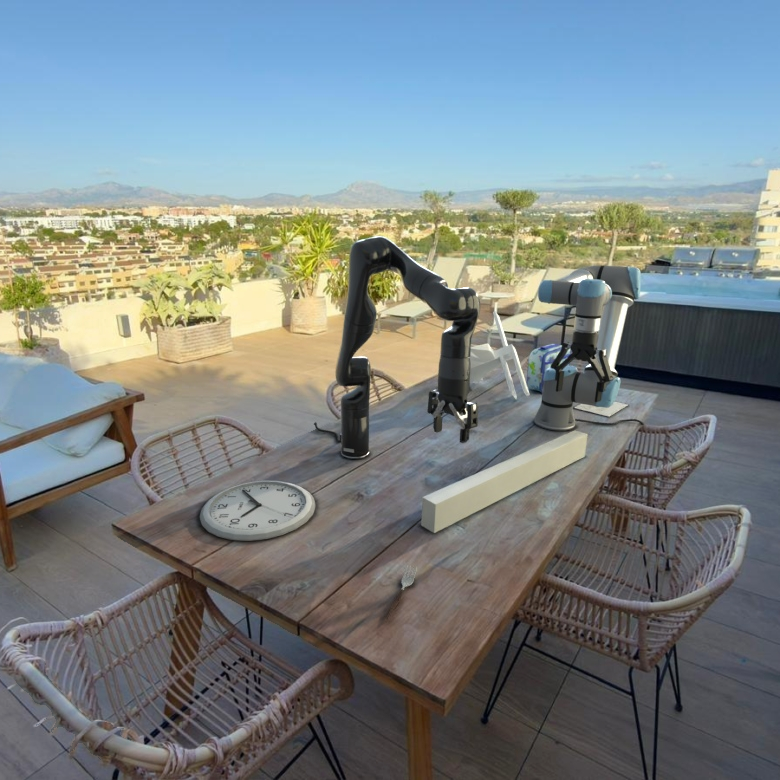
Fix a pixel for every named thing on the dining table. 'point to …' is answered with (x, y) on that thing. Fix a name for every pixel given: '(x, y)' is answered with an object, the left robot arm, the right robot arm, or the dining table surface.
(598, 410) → the invitation card
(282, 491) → the wall clock
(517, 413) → the dining table surface
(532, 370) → the lunch box
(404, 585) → the fork
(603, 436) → the dining table surface
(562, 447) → the post
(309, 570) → the dining table surface
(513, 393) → the white plastic object
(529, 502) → the dining table surface
